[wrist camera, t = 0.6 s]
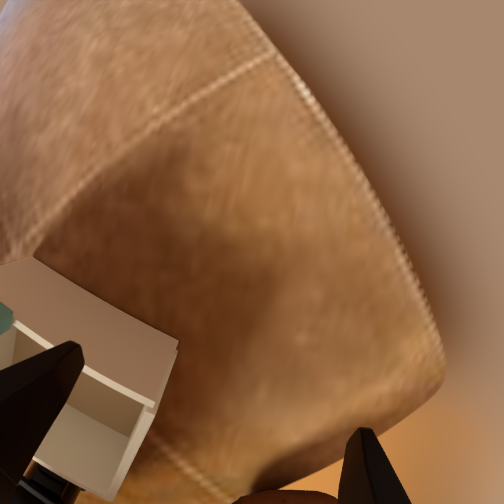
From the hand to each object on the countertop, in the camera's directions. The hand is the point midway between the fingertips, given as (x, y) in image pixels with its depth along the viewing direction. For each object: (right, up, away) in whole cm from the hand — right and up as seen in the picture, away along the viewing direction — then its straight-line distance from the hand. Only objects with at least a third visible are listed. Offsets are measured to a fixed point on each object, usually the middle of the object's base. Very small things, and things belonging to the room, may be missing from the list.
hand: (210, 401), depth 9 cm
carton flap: (-10, +1, +13) cm, 16 cm away
